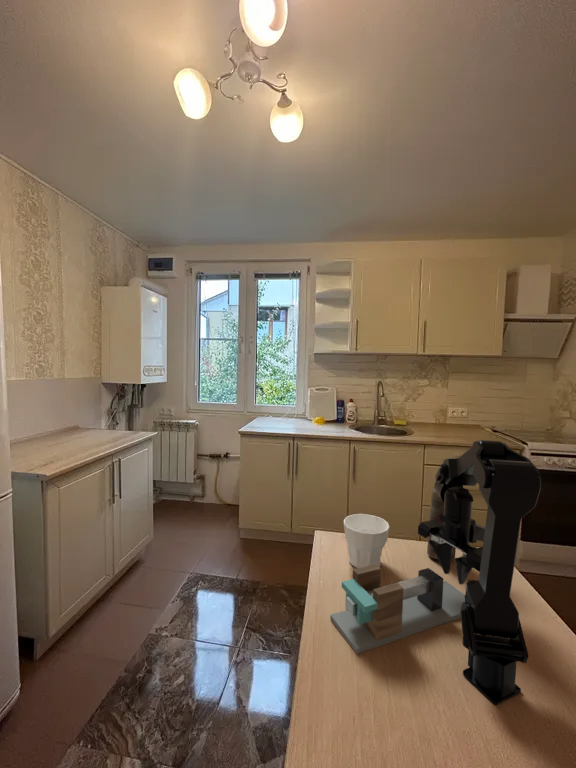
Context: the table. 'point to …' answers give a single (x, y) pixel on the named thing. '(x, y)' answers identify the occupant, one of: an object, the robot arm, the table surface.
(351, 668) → the table surface
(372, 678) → the table surface
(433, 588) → the shaft
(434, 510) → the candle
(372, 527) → the cup
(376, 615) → the bearing block
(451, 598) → the base board
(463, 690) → the table surface
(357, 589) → the spacer
